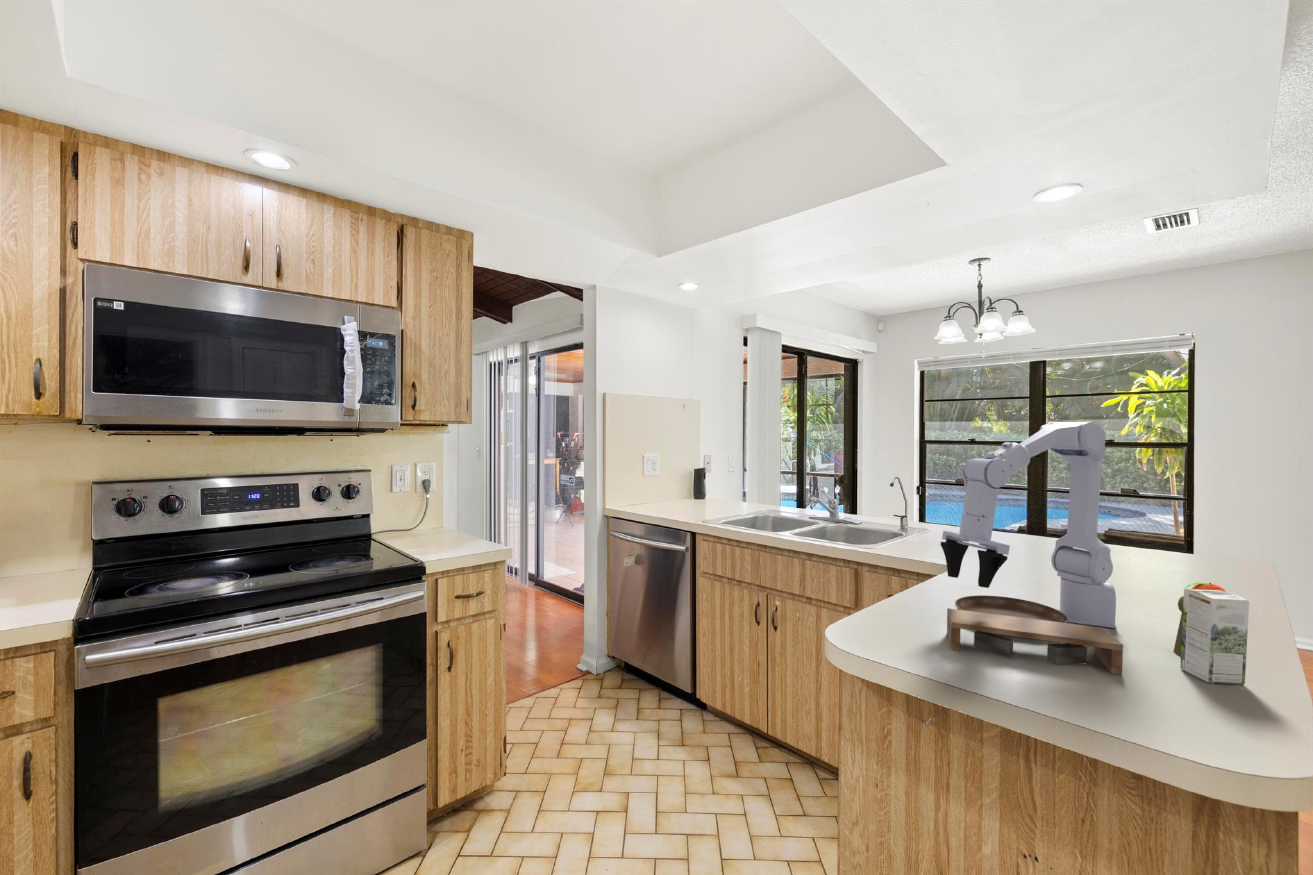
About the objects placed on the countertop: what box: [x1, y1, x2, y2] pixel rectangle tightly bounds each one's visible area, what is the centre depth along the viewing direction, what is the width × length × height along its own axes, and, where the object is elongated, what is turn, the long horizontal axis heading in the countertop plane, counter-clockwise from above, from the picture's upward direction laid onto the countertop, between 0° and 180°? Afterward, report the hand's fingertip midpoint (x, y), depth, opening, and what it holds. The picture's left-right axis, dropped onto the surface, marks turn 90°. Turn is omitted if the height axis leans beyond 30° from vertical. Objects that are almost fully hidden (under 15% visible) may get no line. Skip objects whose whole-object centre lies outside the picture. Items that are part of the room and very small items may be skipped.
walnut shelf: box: [946, 608, 1124, 676], centre depth 105 cm, size 26×9×5 cm, turn 67°
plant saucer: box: [954, 595, 1068, 623], centre depth 121 cm, size 21×21×3 cm
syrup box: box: [1179, 588, 1250, 686], centre depth 95 cm, size 6×6×14 cm
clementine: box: [1183, 582, 1227, 592], centre depth 130 cm, size 8×7×7 cm
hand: (967, 581), depth 114 cm, fingers open, 7 cm apart
